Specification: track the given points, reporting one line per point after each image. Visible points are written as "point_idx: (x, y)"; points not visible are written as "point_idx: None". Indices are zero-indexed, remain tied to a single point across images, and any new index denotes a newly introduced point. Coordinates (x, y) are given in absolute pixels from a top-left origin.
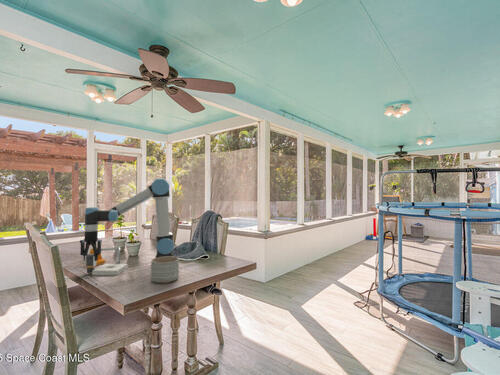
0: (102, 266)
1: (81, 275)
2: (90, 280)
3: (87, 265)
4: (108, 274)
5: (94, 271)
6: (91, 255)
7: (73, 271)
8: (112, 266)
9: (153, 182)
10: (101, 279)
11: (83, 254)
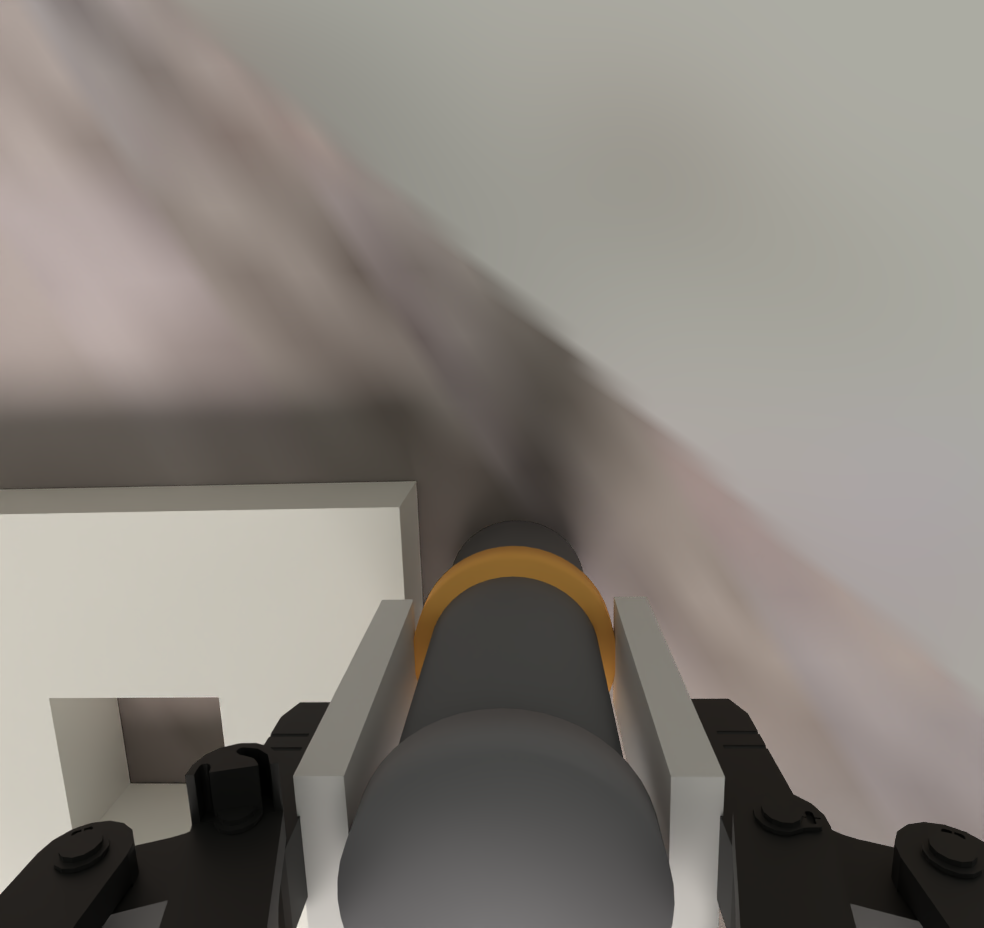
0: None
1: (630, 450)
2: (224, 119)
3: (555, 592)
4: (78, 491)
5: (354, 501)
6: (393, 784)
7: (964, 708)
8: None
9: None
10: (40, 199)
11: (830, 849)
